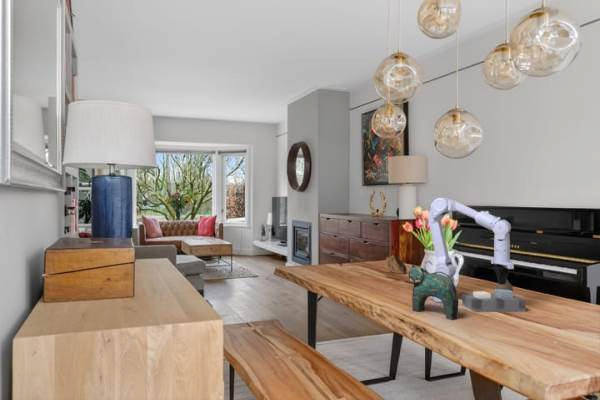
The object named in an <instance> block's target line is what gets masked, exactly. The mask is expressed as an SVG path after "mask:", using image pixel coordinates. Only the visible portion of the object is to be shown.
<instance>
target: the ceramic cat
mask: <svg viewBox="0 0 600 400" xmlns="http://www.w3.org/2000/svg"><path fill="white" fill-rule="evenodd" d="M427 263H429V264H431V266H433V263H432V261H429V260H428V261H427V260H426V261H425V263H424V265H426V264H427ZM436 273H442V274H445V275H447V274H446V273H443V272H435V271H434V272H429V271H428V270H427V268H426V267H421V266H420V267H419V266H418V267H417V266H416V265H415V264H412V265H411V268H410V270H408V280H409V282H411V283H412V284H413V287H412V297H411V301H412V303H411V305H412V309H411V310H412V311H413V312H417V313H419V312H420V313H421V312H425V304H426V301H427V299H428V298H429V297H431V296H432V297H436V298H439V299H440V300H441V301H442V302H441V303H442V307H443V309H444V313H445V318H446V319H447V320H451V321H455V320H457V318H458V312H459V299H458V292H457V287H456V285H455V283H454V284H453V281H452V279H451V277H450V276H449V275H447V276H448V277H449V278H450V279H451V280H450V279H449V278H448V277H446V276H444V275H441V274H436Z"/></svg>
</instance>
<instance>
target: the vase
mask: <svg viewBox="0 0 600 400" xmlns="http://www.w3.org/2000/svg"><path fill="white" fill-rule="evenodd" d="M495 289H508V290H510V291H513V292H514V289H513V286H512V284H511V283H510V282H509V280H508V279H507V280H506V283H505V284H503V285H500V284H499V283H498V284H497V285H496V287H495Z"/></svg>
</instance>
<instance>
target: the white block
mask: <svg viewBox="0 0 600 400" xmlns="http://www.w3.org/2000/svg"><path fill="white" fill-rule="evenodd" d="M472 294H473V296H474V297H476V298H491V294H490V293H489V292H487V291H472Z"/></svg>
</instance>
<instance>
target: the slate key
mask: <svg viewBox="0 0 600 400" xmlns="http://www.w3.org/2000/svg"><path fill="white" fill-rule="evenodd" d="M494 293H495V296H497V297H499V298H513V295H514V290H513V291H510V290H508V289H496V288H494Z"/></svg>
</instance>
